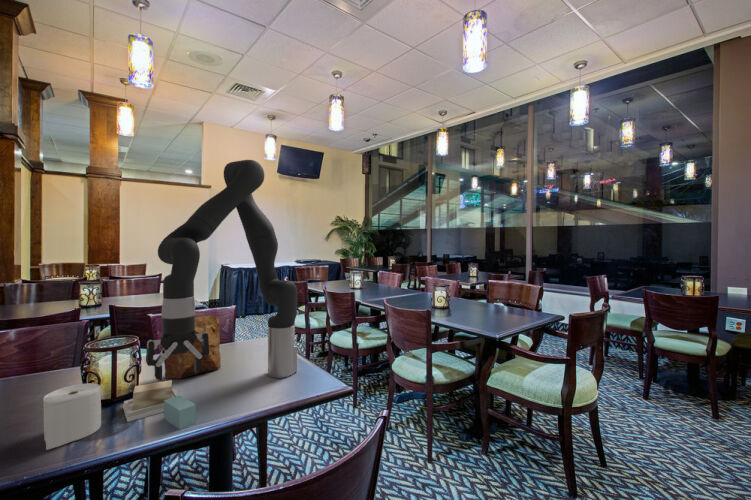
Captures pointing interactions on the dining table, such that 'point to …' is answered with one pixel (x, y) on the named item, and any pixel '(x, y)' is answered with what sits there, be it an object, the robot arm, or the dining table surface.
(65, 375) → the dining table surface
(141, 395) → the tan wooden block
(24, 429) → the dining table surface
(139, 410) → the jig
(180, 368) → the stone
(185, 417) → the teal block
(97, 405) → the toilet tissue
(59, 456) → the dining table surface
